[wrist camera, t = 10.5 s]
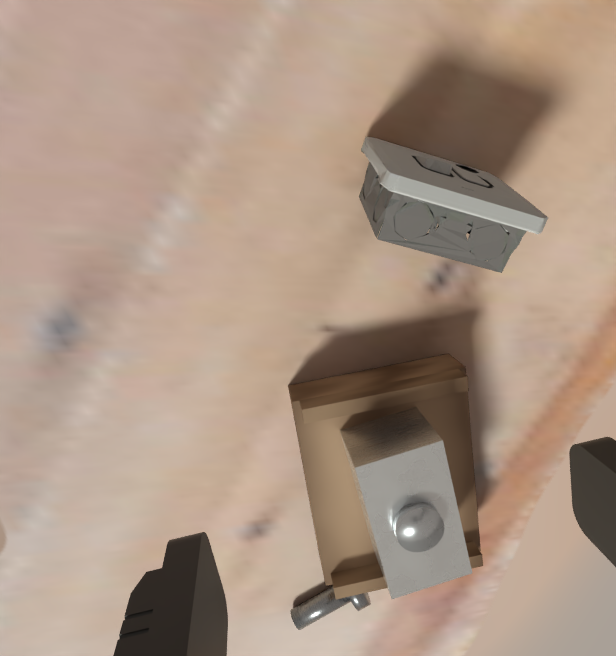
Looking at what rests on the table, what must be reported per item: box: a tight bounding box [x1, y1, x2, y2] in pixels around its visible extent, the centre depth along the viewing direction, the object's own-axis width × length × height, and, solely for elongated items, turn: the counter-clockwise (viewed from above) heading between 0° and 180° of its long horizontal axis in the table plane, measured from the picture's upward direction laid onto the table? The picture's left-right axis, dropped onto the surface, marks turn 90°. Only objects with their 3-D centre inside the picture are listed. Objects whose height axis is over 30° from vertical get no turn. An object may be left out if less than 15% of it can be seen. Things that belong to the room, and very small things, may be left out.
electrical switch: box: [359, 137, 548, 273], centre depth 32 cm, size 9×5×9 cm, turn 75°
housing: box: [340, 407, 472, 599], centre depth 35 cm, size 6×10×6 cm, turn 15°
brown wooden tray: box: [288, 354, 483, 599], centre depth 39 cm, size 12×15×4 cm
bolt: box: [291, 586, 371, 630], centre depth 42 cm, size 6×3×3 cm, turn 119°
